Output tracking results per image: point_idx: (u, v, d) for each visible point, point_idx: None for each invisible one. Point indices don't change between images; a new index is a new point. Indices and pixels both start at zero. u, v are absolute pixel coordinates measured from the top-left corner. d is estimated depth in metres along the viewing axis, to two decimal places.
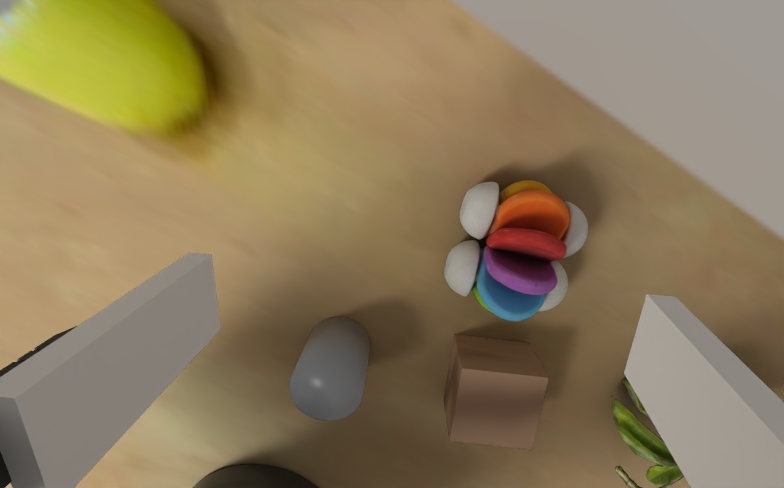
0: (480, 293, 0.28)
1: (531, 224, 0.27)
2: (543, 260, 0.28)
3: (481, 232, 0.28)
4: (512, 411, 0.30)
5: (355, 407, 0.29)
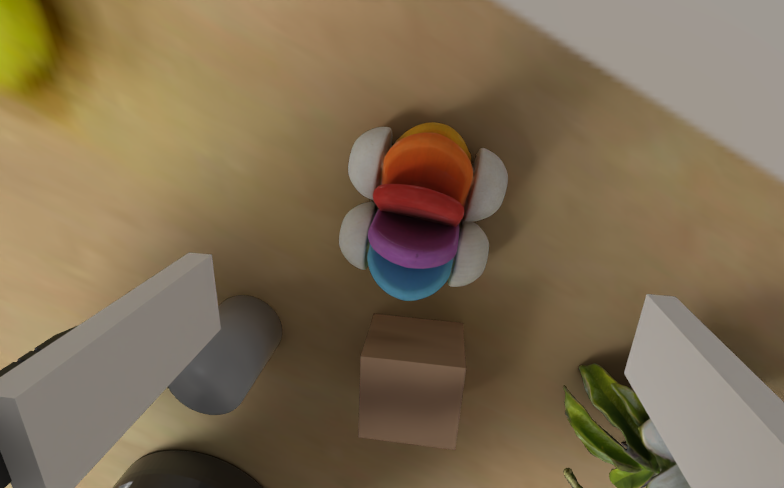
0: (369, 267, 0.23)
1: (424, 178, 0.21)
2: (445, 224, 0.22)
3: (368, 191, 0.23)
4: (426, 406, 0.25)
5: (240, 400, 0.25)
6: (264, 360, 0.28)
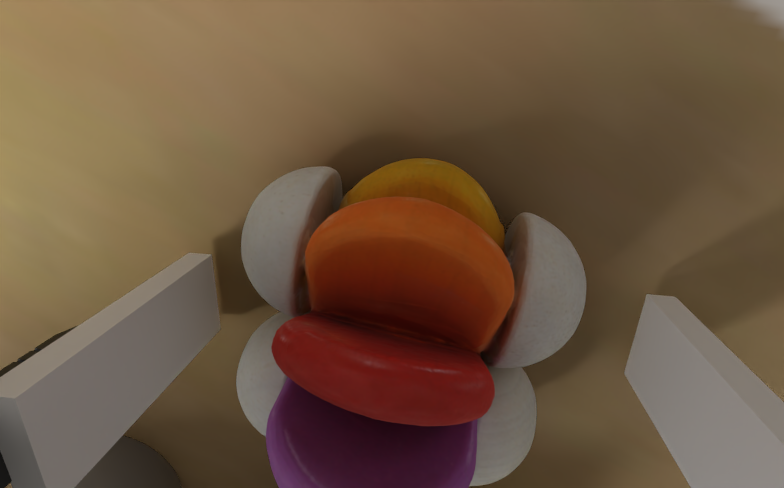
0: None
1: (398, 297, 0.09)
2: None
3: (282, 308, 0.10)
4: None
5: None
6: None
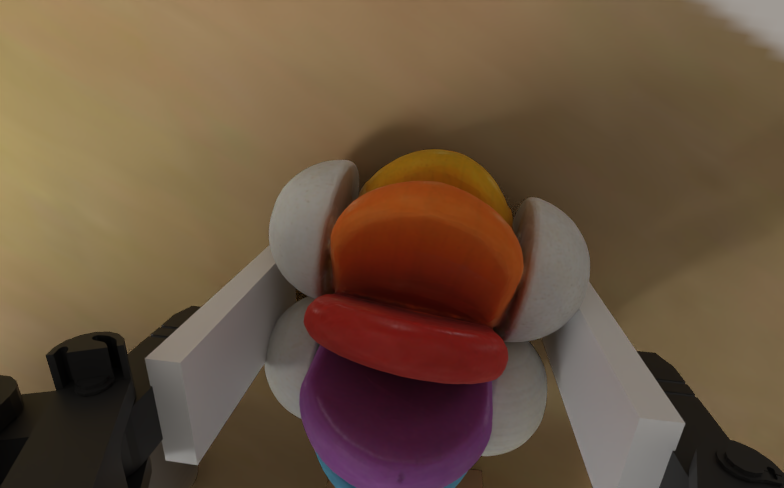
0: None
1: (417, 275, 0.10)
2: None
3: (308, 291, 0.11)
4: None
5: None
6: None
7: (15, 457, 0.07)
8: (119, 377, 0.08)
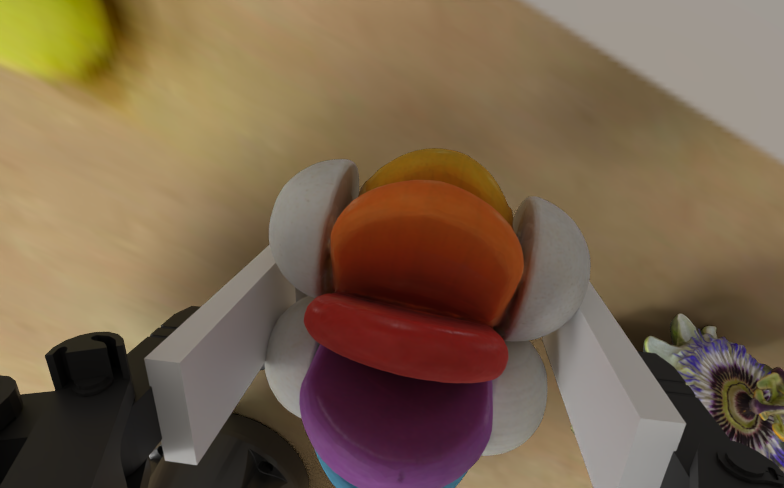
0: None
1: (417, 274, 0.10)
2: None
3: (308, 290, 0.11)
4: None
5: None
6: None
7: (14, 457, 0.07)
8: (118, 377, 0.08)
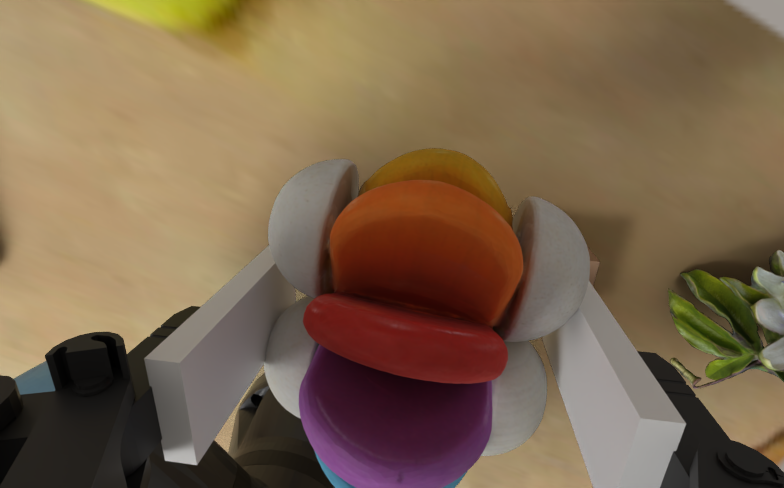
0: None
1: (416, 274, 0.10)
2: None
3: (307, 290, 0.11)
4: None
5: None
6: None
7: (14, 457, 0.07)
8: (118, 377, 0.08)
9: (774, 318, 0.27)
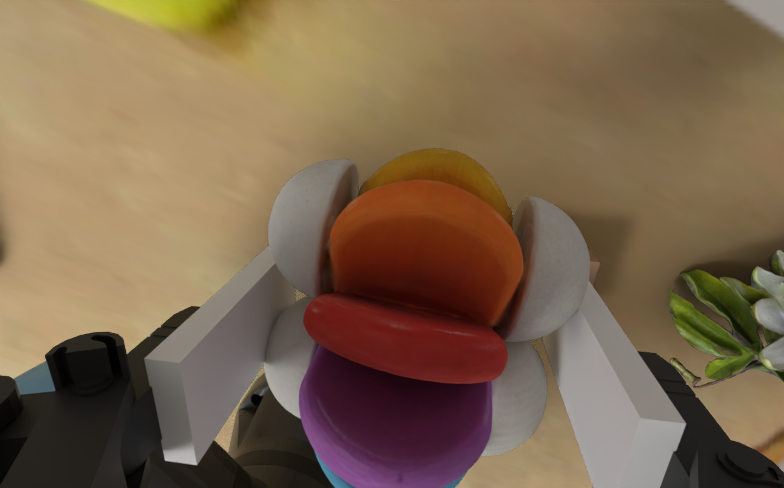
0: None
1: (417, 274, 0.10)
2: None
3: (307, 290, 0.11)
4: None
5: None
6: None
7: (14, 457, 0.07)
8: (118, 377, 0.08)
9: (774, 318, 0.27)
